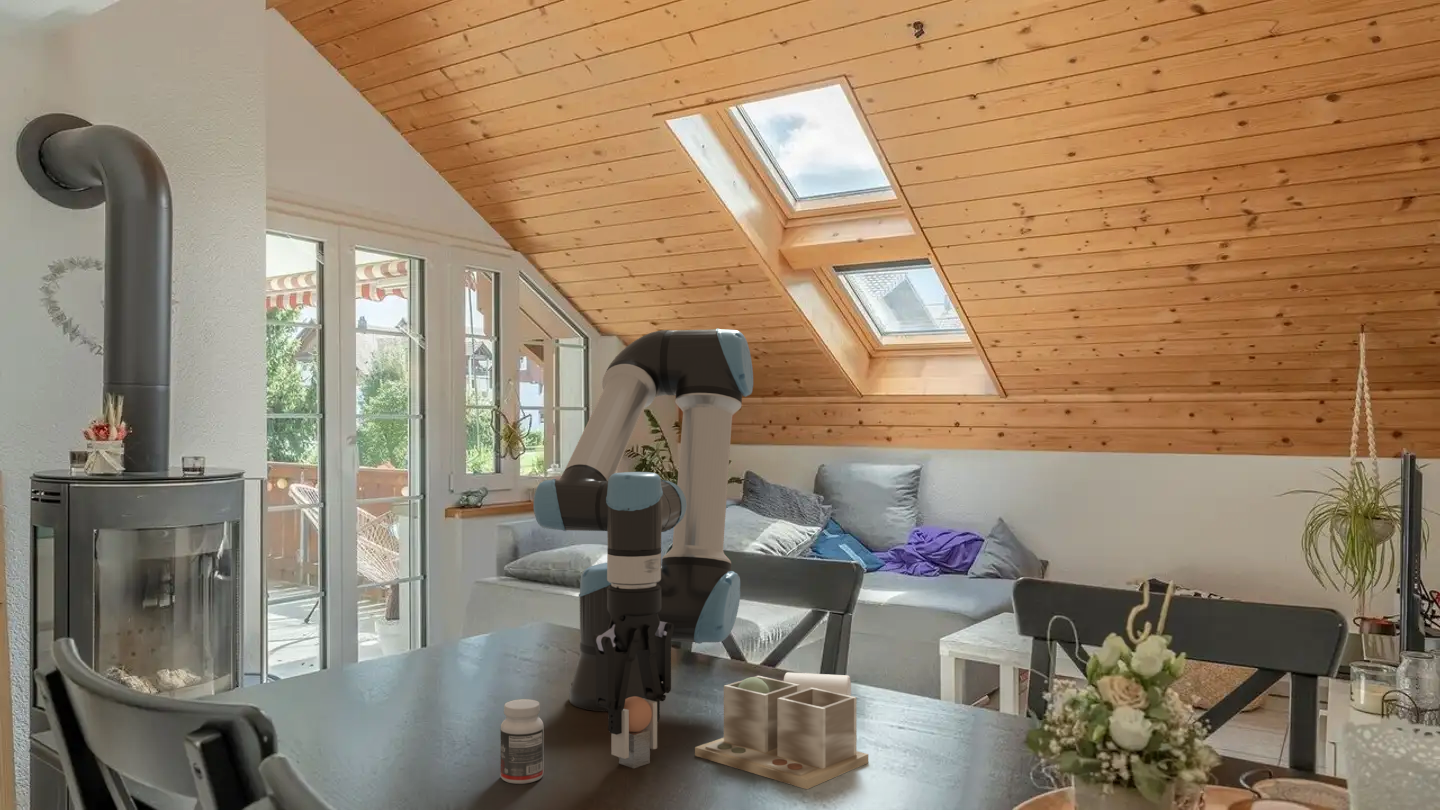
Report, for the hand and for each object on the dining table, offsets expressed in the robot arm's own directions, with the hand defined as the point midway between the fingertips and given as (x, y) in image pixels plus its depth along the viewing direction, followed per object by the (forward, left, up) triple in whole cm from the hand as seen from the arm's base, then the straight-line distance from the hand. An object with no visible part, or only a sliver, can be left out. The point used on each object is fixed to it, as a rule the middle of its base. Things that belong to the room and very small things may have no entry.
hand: (634, 750), depth 152 cm
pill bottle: (-7, -14, -2) cm, 16 cm away
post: (0, 0, -2) cm, 2 cm away
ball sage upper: (+8, +16, +6) cm, 19 cm away
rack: (+14, +15, -2) cm, 21 cm away
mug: (+7, +33, -2) cm, 34 cm away
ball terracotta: (0, 0, +5) cm, 5 cm away
